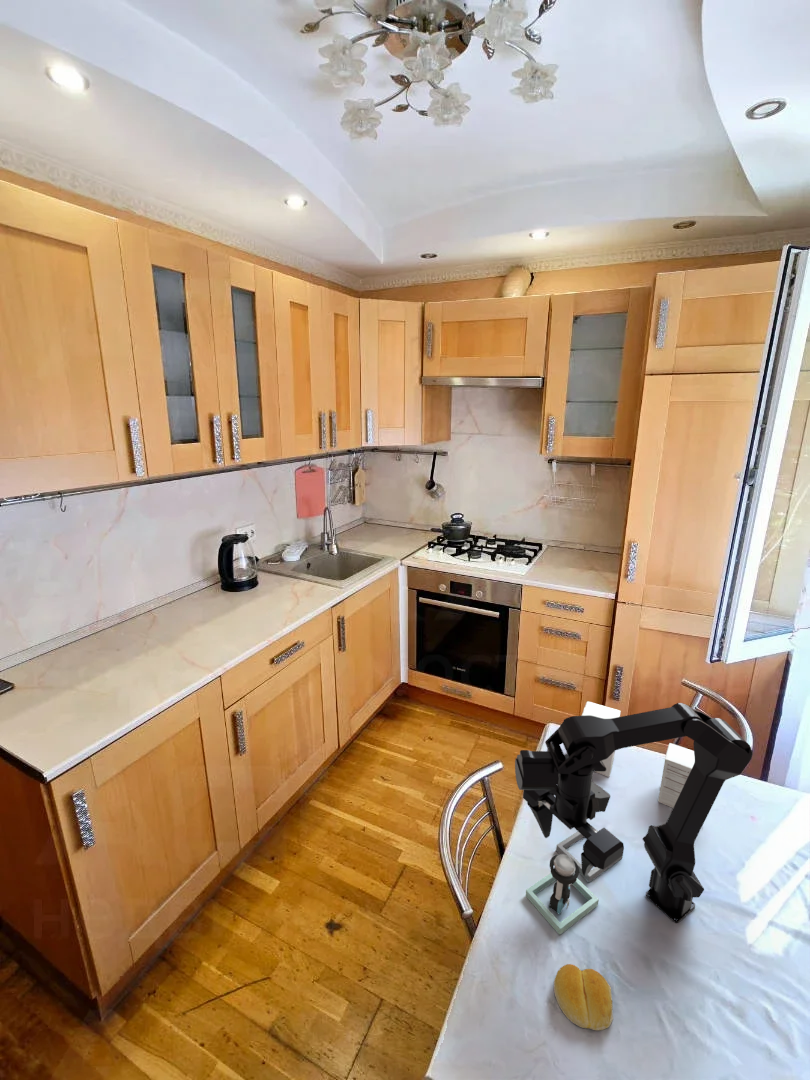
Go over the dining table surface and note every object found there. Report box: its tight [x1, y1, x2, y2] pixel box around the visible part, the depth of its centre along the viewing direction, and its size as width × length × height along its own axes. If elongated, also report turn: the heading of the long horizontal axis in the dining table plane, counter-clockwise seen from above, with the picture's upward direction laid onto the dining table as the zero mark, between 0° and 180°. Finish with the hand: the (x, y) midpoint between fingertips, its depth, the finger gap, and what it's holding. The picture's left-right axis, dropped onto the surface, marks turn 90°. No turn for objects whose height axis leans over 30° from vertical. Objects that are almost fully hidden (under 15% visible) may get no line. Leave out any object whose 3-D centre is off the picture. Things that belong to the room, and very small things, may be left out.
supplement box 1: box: [581, 701, 622, 778], centre depth 130 cm, size 9×9×15 cm
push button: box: [548, 853, 580, 915], centre depth 93 cm, size 7×5×10 cm
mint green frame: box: [525, 872, 599, 936], centre depth 94 cm, size 9×11×2 cm
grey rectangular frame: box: [555, 830, 623, 883], centre depth 104 cm, size 9×11×2 cm
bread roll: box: [553, 963, 614, 1031], centre depth 78 cm, size 8×9×4 cm
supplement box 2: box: [658, 742, 695, 809], centre depth 117 cm, size 7×7×13 cm
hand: (565, 854), depth 91 cm, fingers open, 9 cm apart
